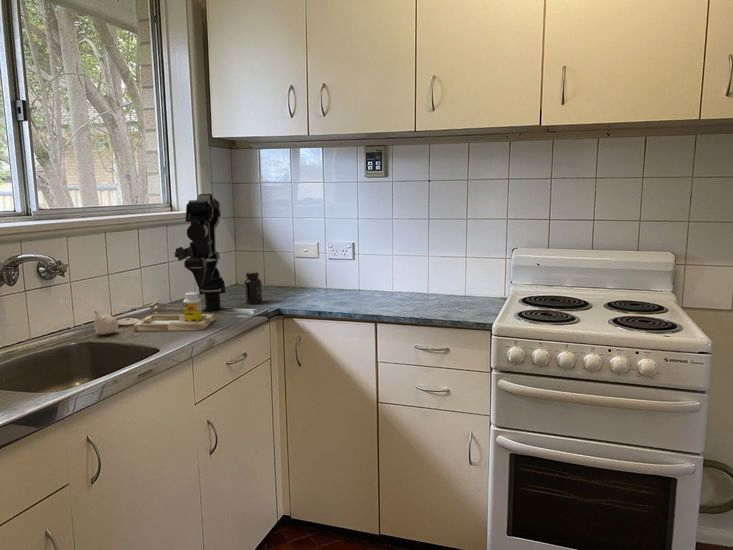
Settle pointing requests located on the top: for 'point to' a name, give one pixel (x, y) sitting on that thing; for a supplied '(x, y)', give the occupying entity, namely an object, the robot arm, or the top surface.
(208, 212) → the robot arm
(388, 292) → the top surface
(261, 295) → the supplement bottle
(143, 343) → the top surface
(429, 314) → the top surface
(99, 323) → the garlic bulb
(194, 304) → the supplement bottle
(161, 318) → the keyhole tray
